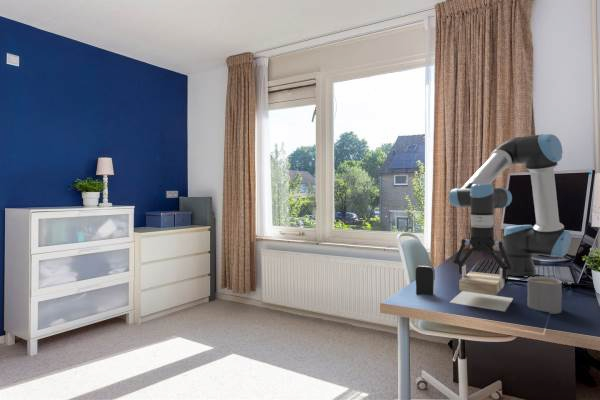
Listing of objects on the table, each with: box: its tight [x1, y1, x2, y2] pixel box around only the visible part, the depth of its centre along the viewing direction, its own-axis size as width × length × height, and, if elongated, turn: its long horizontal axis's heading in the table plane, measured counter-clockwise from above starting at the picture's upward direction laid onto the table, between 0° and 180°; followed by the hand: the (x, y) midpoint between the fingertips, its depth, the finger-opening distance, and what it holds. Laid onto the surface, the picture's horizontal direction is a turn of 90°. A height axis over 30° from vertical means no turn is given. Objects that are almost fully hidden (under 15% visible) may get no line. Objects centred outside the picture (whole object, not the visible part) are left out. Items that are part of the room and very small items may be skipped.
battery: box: [415, 264, 436, 296], centre depth 153 cm, size 7×4×11 cm, turn 58°
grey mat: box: [449, 290, 514, 313], centre depth 143 cm, size 18×18×1 cm
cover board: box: [458, 271, 506, 296], centre depth 143 cm, size 16×12×4 cm
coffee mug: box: [526, 276, 563, 315], centre depth 135 cm, size 13×10×10 cm
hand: (482, 285), depth 143 cm, fingers closed on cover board, 12 cm apart
